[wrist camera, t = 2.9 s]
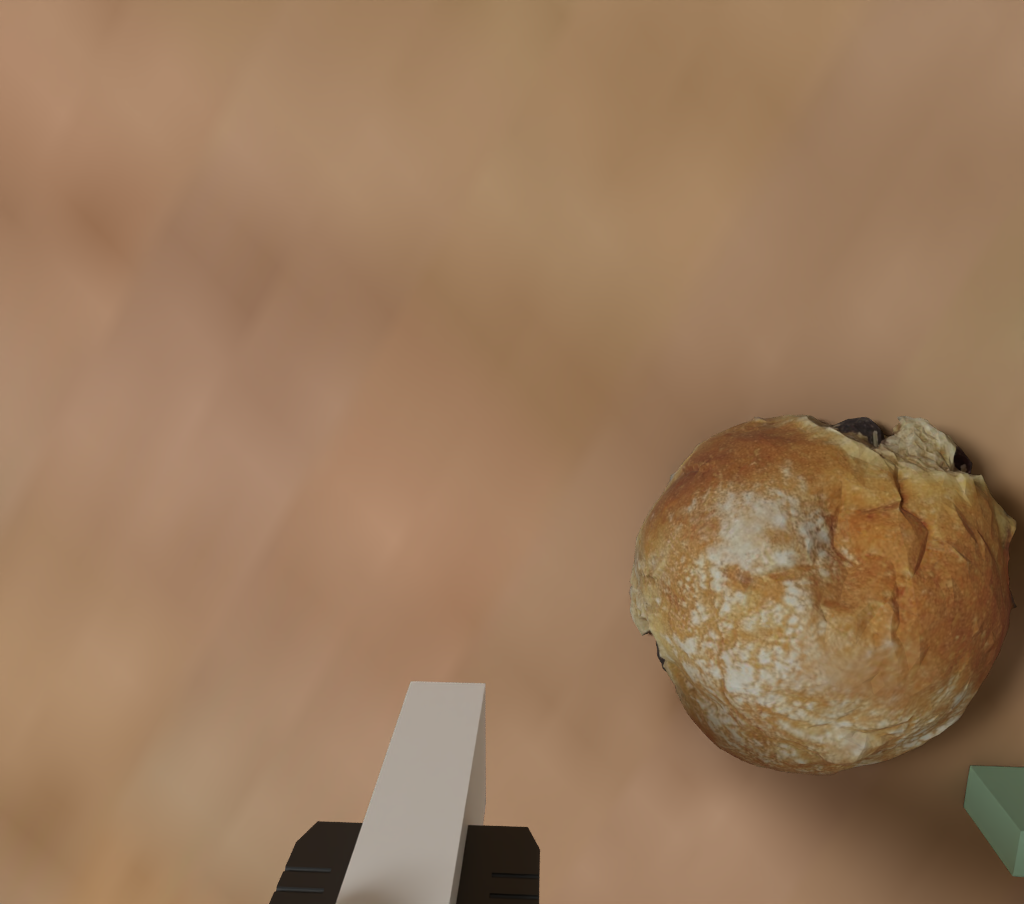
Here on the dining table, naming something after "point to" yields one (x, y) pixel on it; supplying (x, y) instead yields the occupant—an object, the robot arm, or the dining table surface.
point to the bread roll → (824, 589)
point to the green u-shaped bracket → (999, 811)
